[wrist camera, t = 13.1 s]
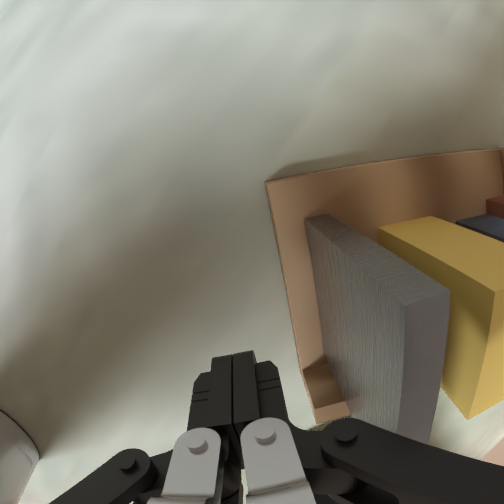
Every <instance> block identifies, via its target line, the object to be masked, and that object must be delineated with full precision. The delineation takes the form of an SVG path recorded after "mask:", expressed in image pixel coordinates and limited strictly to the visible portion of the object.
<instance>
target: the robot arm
mask: <svg viewBox="0 0 504 504" xmlns="http://www.w3.org/2000/svg"><path fill="white" fill-rule="evenodd" d="M191 402H192V403H191V406H190V413H189V420H188V427H187V432H185V433H184V434H182V435H181V436H180V437H179V438H178V439H177V441H176V443H175V445H174V449H172V450H171V451H168V452H165V453H162V454H159V455H156V456H152V457H149V456H148V455H147V453H146V452H144V451H142V450H140V449H126V450H123V451H121V452H119V453H117V454H116V455H115V456H113V457H112V458H111V459H109V460H108V461H107V462H106V463H104V464H103V465H102V466H100V467H99V468H98V469H96V470H95V471H94V472H92V473H91V474H90V475H88V476H87V477H86V478H84V479H83V480H81V481H80V482H79V483H77V484H76V485H75V486H73V487H72V488H70V489H69V490H68V491H66V492H65V493H63V494H62V495H61V496H59V497H58V498H56V499H55V500H53V501H52V502H50V503H49V504H129V503H131V502H132V501H133V502H134V503H133V504H243V485H242V482H241V469H245V473H246V480H247V486H248V494H247V495H246V504H316V502H315V499H314V496H313V494H328V496H329V497H330V498H332V499H333V500H335V501H337V502H339V503H341V504H504V466H500V465H496V464H492V463H488V462H484V461H480V460H477V459H473V458H469V457H466V456H462V455H459V454H456V453H452V452H449V451H446V450H443V449H439V448H436V447H433V446H430V445H427V444H424V443H421V442H418V441H415V440H413V439H410V438H407V437H404V436H401V435H399V434H396V433H393V432H390V431H388V430H385V429H383V428H380V427H377V426H375V425H372V424H370V423H367V422H365V421H362V420H360V419H356V418H343V419H339V420H336V421H334V422H332V423H330V424H329V425H327V426H326V427H325V428H324V429H323V431H307V430H302V429H299V428H297V427H295V426H294V425H293V424H292V423H291V422H290V421H289V419H288V414H287V409H286V404H285V400H284V395H283V390H282V386H281V381H280V377H279V372H278V368H277V367H276V366H275V365H274V364H273V363H272V362H271V361H265V362H260V363H257V362H256V358H255V354H254V351H253V350H251V351H246V352H241V353H236V354H233V355H232V354H231V355H226V356H220V357H214V358H212V363H211V372H206V373H201V374H200V375H199V377H198V378H197V379H196V381H195V382H194V386H193V395H192V399H191ZM38 461H39V454H38V451H37V449H36V447H35V445H34V444H33V442H32V441H31V439H30V438H29V437H28V436H27V434H26V433H25V432H24V431H23V430H22V429H21V428H20V427H19V426H18V425H17V424H16V423H15V422H14V421H12V420H11V419H10V418H9V417H8V416H6V415H5V414H4V413H3V412H1V411H0V504H18V502H19V500H20V498H21V496H22V493H23V491H24V489H25V487H26V485H27V483H28V481H29V479H30V477H31V475H32V473H33V471H34V469H35V467H36V465H37V463H38Z"/></svg>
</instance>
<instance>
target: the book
mask: <svg viewBox="0 0 504 504" xmlns="http://www.w3.org/2000/svg"><path fill="white" fill-rule="evenodd" d="M377 228H378V239H379V245H381V246H382V247H384V248H385V249H387V250H389V251H390V252H392V253H393V254H395V255H397V256H398V257H400V258H401V259H403V260H404V261H406V262H408V263H409V264H411V265H412V266H414V267H415V268H417V269H418V270H420V271H421V272H423V273H425V274H426V275H428V276H429V277H431V278H432V279H434V280H435V281H437V282H438V283H440V284H441V285H442V286H444V287H445V288H447V289H448V290H450V308H449V321H448V332H447V341H446V350H445V357H444V365H443V371H442V377H441V383H440V387H441V388H442V389H443V390H444V391H445V393H446V394H447V395H448V396H449V398H450V399H451V400H452V401H453V403H454V404H455V405H456V406H457V408H458V409H459V410H460V411H461V413H462V414H463V415H464V416H465V418H466V419H467V420H468V419H470V418H472V417H474V416H476V415H477V414H479V413H481V412H483V411H485V410H486V409H488V408H490V407H492V406H493V405H495V404H497V403H498V402H500V401H502V400H503V399H504V243H503V242H501V241H498V240H496V239H493V238H491V237H488V236H486V235H483V234H480V233H478V232H475V231H472V230H470V229H467V228H464V227H461V226H459V225H456V224H453V223H450V222H447V221H445V220H442V219H439V218H436V217H433V216H427V217H423V218H418V219H413V220H409V221H404V222H399V223H395V224H390V225H385V226H381V227H377Z"/></svg>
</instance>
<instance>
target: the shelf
mask: <svg viewBox="0 0 504 504" xmlns="http://www.w3.org/2000/svg"><path fill="white" fill-rule="evenodd" d="M265 187H266V192H267V196H268V201H269V206H270V211H271V216H272V221H273V226H274V231H275V236H276V241H277V247H278V252H279V257H280V262H281V267H282V273H283V278H284V283H285V289H286V294H287V299H288V305H289V310H290V316H291V321H292V327H293V332H294V338H295V344H296V349H297V355H298V361H299V367H300V372H301V375H302V378H303V381H304V385H305V388H306V391H307V394H308V398H309V401H310V404H311V407H312V411H313V414H314V417H315V420H316V424H318V423H322V422H326V421H330V420H334V419H337V418H341V417H344V416H348V415H351V414H350V412H349V409H348V407H347V405H346V403H345V400H344V398H343V396H342V393H341V391H340V389H339V387H338V384H337V382H336V380H335V378H334V375H333V373H332V371H331V369H330V367H329V364H328V362H327V360H326V358H325V355H324V350H323V342H322V334H321V326H320V319H319V312H318V304H317V297H316V290H315V284H314V277H313V270H312V264H311V258H310V251H309V245H308V239H307V233H306V228H305V222H304V218H309V217H314V216H318V215H323V214H329V215H330V216H332V217H334V218H336V219H337V220H339V221H341V222H342V223H344V224H346V225H348V226H349V227H351V228H353V229H354V230H356V231H358V232H359V233H361V234H363V235H364V236H366V237H368V238H369V239H371V240H373V241H374V242H376V243H377V244H379V239H378V228H377V227H381V226H385V225H390V224H395V223H399V222H404V221H409V220H413V219H418V218H423V217H427V216H433V217H436V218H439V219H442V220H445V221H447V222H450V223H453V224H456V225H459V226H461V227H464V228H467V229H470V230H472V231H475V232H478V233H480V234H483V235H486V236H488V237H491V238H493V239H496V240H498V241H501V242H503V243H504V148H493V149H481V150H470V151H460V152H450V153H441V154H432V155H424V156H416V157H408V158H400V159H393V160H386V161H379V162H372V163H366V164H359V165H353V166H347V167H341V168H335V169H329V170H323V171H318V172H312V173H307V174H301V175H296V176H291V177H285V178H280V179H275V180H270V181H265Z"/></svg>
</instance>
